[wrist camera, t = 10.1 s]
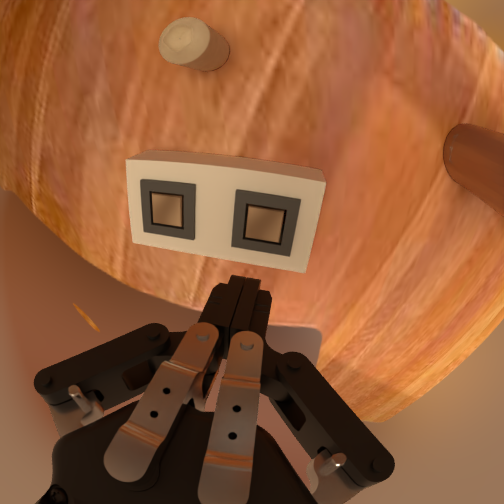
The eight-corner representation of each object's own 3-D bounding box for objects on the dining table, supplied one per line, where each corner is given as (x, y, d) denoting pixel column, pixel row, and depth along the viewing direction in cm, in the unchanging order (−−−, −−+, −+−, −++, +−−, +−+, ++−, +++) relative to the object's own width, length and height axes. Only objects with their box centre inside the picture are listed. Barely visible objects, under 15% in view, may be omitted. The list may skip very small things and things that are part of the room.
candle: (227, 72, 28) (201, 61, 20) (186, 71, 29) (149, 64, 20) (232, 33, 25) (208, 11, 17) (191, 34, 26) (155, 16, 17)
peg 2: (286, 193, 36) (284, 211, 30) (282, 219, 38) (278, 243, 32) (256, 188, 36) (248, 206, 30) (253, 215, 38) (245, 237, 32)
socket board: (321, 169, 33) (326, 184, 28) (304, 249, 40) (305, 276, 34) (148, 149, 35) (123, 160, 29) (151, 224, 41) (130, 244, 36)
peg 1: (199, 180, 37) (181, 197, 31) (198, 207, 39) (181, 227, 33) (173, 178, 37) (151, 193, 31) (173, 203, 39) (153, 222, 33)
